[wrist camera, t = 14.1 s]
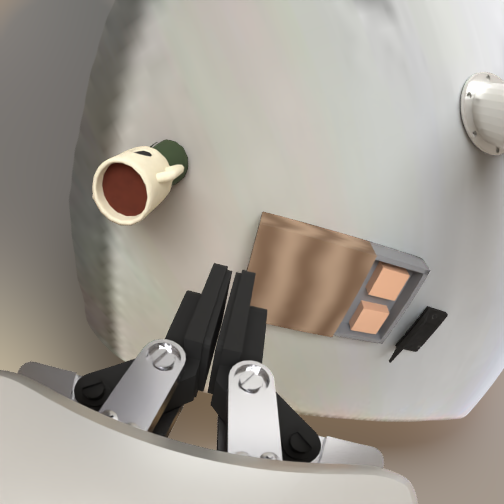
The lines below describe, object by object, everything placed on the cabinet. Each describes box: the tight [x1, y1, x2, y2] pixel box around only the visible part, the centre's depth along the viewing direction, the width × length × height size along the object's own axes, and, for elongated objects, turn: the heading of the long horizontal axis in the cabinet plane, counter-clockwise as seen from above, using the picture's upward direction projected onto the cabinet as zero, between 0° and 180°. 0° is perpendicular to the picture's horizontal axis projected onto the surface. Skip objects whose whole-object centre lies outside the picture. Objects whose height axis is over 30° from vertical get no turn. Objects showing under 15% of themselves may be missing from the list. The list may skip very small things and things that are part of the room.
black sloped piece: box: [389, 306, 448, 363], centre depth 44 cm, size 12×7×10 cm
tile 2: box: [366, 261, 410, 301], centre depth 39 cm, size 5×5×2 cm
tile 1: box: [349, 300, 390, 334], centre depth 43 cm, size 5×5×2 cm
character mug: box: [92, 140, 188, 225], centre depth 30 cm, size 11×7×13 cm, turn 101°
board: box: [247, 212, 377, 337], centre depth 41 cm, size 16×16×4 cm
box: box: [334, 242, 430, 344], centre depth 41 cm, size 10×16×4 cm, turn 167°
